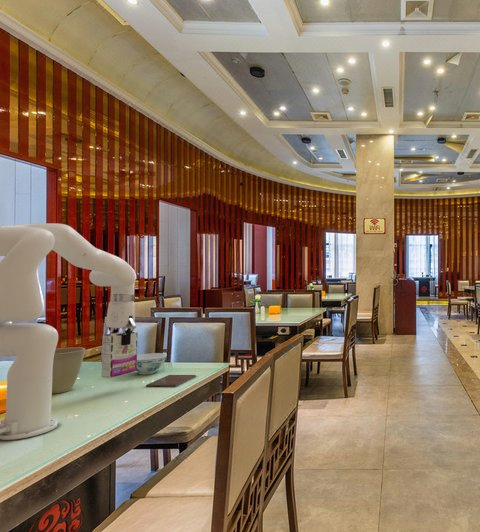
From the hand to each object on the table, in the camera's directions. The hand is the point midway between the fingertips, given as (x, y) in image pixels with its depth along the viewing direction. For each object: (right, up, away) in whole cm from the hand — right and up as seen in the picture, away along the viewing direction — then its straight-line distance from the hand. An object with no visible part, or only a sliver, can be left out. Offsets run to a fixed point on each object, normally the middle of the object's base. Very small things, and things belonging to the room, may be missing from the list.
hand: (120, 344), depth 148 cm
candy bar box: (0, -12, -1) cm, 12 cm away
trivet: (+12, -19, +14) cm, 27 cm away
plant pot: (-24, -19, -1) cm, 30 cm away
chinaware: (-8, -20, +28) cm, 35 cm away
